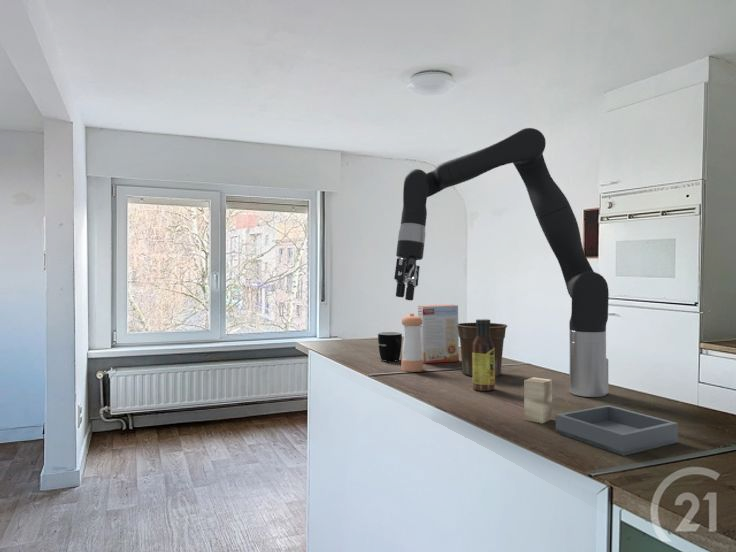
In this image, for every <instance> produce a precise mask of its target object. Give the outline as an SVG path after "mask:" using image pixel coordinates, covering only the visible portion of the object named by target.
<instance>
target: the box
mask: <svg viewBox="0 0 736 552" xmlns="http://www.w3.org/2000/svg"><path fill="white" fill-rule="evenodd" d="M555 433H556V434H559V435H562V436H565V437H566V438H571V439H573V440H575V441H579V442H582V443H584V444H588V445H591V446H593V447H595V448H596V447H597V448H599V449H602V450H604V451H608V452H610V453H614V454H616V455H619V456H622V457H624V456H628V455H633V454H637V453H640V452H646V451H648V450H652V449H653V450H654V449H657V448H661V447H666V446H669V445H673V444H677V443H679V423H678V422H676V421H675V422H674V421H671V420H667V419H664V418H659V417H657V416H652V415H648V414H644V413H640V412H636V411H633V410H628V409H625V408H621V407H617V406H614V405H609V404H607V405H601V406H595V407H590V408H584V409H580V410H573V411H567V412H562V413H556V414H555Z"/></svg>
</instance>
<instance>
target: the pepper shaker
mask: <svg viewBox="0 0 736 552" xmlns="http://www.w3.org/2000/svg"><path fill="white" fill-rule="evenodd" d="M401 324H402V326H403V340H402V347H401V351H402V358H401V367H400V368H401V371H403V372H408V373H409V372H410V373H413V372H414V373H415V372H422V371H423V370H424V363H423V360H422V347H421V341H420V325H421V324H422V319H421V318H420V317H418V315H415V314H414V313H409V315H406V316H404V317H402V318H401Z"/></svg>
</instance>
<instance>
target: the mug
mask: <svg viewBox="0 0 736 552" xmlns="http://www.w3.org/2000/svg"><path fill="white" fill-rule="evenodd" d="M377 343H378V352H379V357H380V360H381V359H382V360H386V361H385V362H389V361H391V362H396V361H395V360H398V361H399V360H400V358H401V351H402V346H403V334H402V332H398V331H382V332H378V333H377ZM382 360H381V361H382Z"/></svg>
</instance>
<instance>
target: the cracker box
mask: <svg viewBox="0 0 736 552" xmlns="http://www.w3.org/2000/svg"><path fill="white" fill-rule="evenodd" d="M417 316H418V317H420V318H421V319H422V324H421V325H420V341H421V347H422V360H423V364H435V363H451V362H452V363H455V362H459V361H460V355H459V353H460V350H459V349H460V347H459V345H460V337H459V334H458V327H457V326H456V324H459V305H458V304H453V303H452V304H428V305H427V304H424V305H417Z"/></svg>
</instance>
